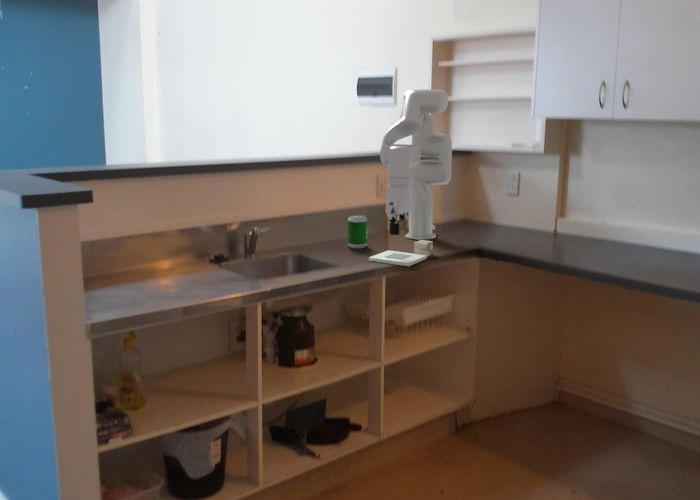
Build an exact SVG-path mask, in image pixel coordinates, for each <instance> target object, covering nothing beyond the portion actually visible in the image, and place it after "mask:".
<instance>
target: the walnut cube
mask: <svg viewBox="0 0 700 500" xmlns="http://www.w3.org/2000/svg"><path fill="white" fill-rule="evenodd" d="M389 221H390V220H389V219H388V235H389V236H390V235H391V236H393V235H392V234H390V223H389ZM397 224H399V234H398V235H397V237H398V236H399V237H401V236H402V237H403V236H404V235H405V234H408V233H409V219H407V220H405V219H399V218H398V223H397Z"/></svg>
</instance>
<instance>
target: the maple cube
mask: <svg viewBox="0 0 700 500" xmlns="http://www.w3.org/2000/svg"><path fill="white" fill-rule="evenodd" d="M433 243H434V242H433V240H432V241H431V240H418V241H414V244H413V245H414V246H413V254H420V255H427V258H428V257H430V256H432V255H433Z"/></svg>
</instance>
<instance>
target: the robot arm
mask: <svg viewBox="0 0 700 500" xmlns="http://www.w3.org/2000/svg"><path fill="white" fill-rule="evenodd" d="M448 95H449V94H448V93H447V91H446V90H445V89H410V90H407V91H405V92H404V94H403V103H402V107H401V112H400V118H399V121H397V122H396V123H395V124H394V125H392V126H391V127H390V128H389V129H388V130H387V131H386V132H385V134H384V136H383V138H382V142H381V145H380V150H379V151H380V152H379V157H380V161H381V163H382V164H383V165H385V166H388V171H387V173H388V177H387V179H388V180H387V181H388V182H387V183H388V184H387V190H386V199H385V214H386V217H387V219H388V224H389V223H390V234H392V235H391V236H398V234H399V224H397V223H398V219H405V220H408V234H405V236H404V237H405V238H406V239H409V240H418V241H419V240H425V241H428V240H434V239H436V238H437V237H436V233H434V232H433V230H435V229H436V225H434V224H433V219H434V218H433V213H434V210H433V207H434V205H433V204H434V194H433V192H432V189H430V187H429V186H428V185H437V186H438V185H441V186H443V185H444V186H445V185H447V184H449V183H450V182H451V180H452V179H451V178H452V165H453V164H452V163H453V162H452V161H453V160H452V159H453V158H452V157H453V153H452V152H453V147H452V143H453V142H452V139H451V137H450V134H449V135H448V134H446V133H438V132H437V133H435V132H434V120H433V119H434V118H433V117H432V116H431V114H433V115H434V114H442V113H444V112H445V111H446V110H447V108H448V107H449V106H448V105H449V96H448ZM410 136H411V144H402V143H401V144H400V143H399V144H396V142H397V141H400V140H402V139H405V138H408V137H410ZM421 158H437V159H439V160H428V159H427V160H426V159H425V160H423V159H421ZM408 216H409V217H408ZM408 218H409V219H408ZM389 220H390V221H389Z"/></svg>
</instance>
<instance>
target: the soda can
mask: <svg viewBox="0 0 700 500" xmlns="http://www.w3.org/2000/svg"><path fill="white" fill-rule="evenodd" d="M347 246H349V247H350V248H352V249H364V248H365V247H366V246H368V218H367V217H366V216H365V215H363V214H362V215H361V214H355V215H354V214H353V215H350V216H349V217H348V219H347Z"/></svg>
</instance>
